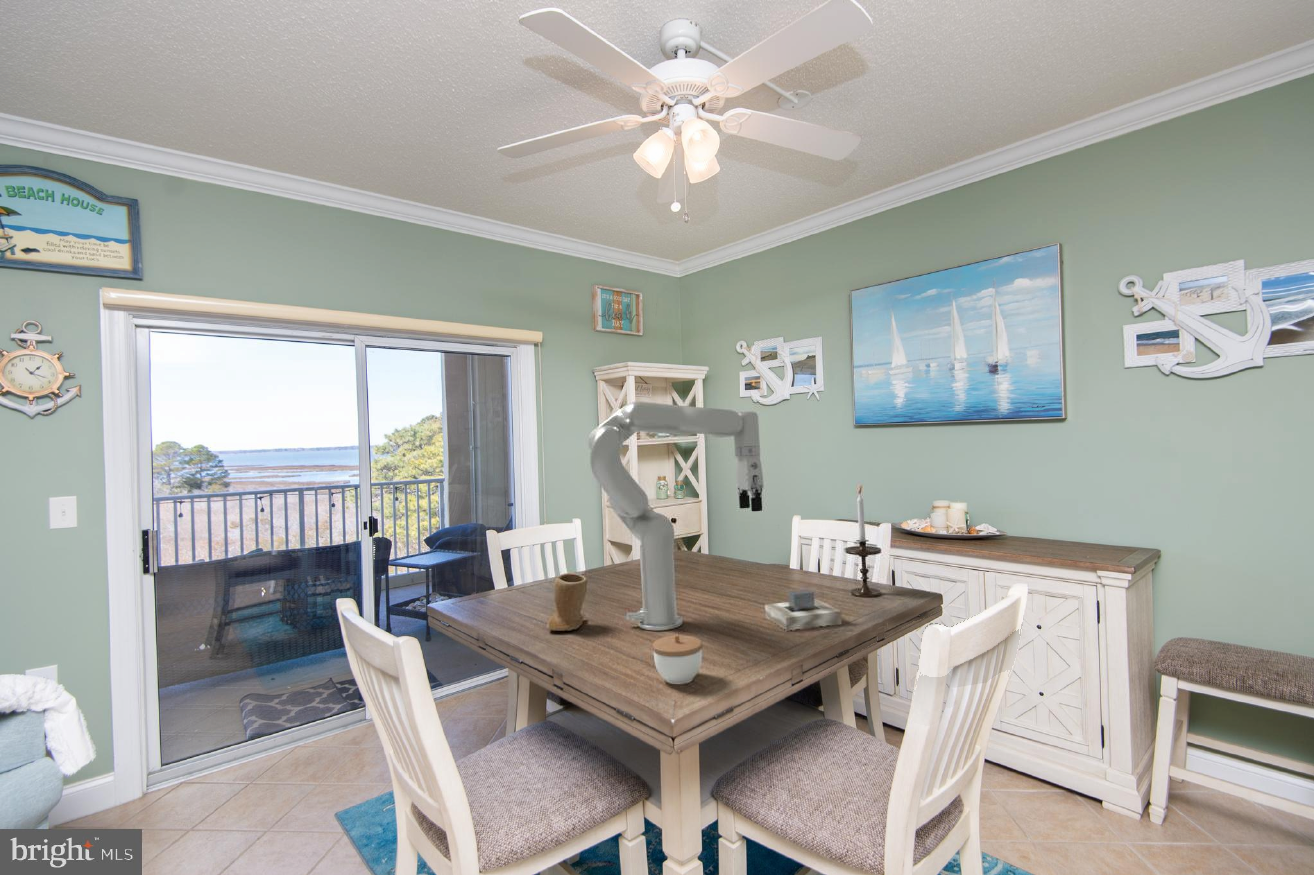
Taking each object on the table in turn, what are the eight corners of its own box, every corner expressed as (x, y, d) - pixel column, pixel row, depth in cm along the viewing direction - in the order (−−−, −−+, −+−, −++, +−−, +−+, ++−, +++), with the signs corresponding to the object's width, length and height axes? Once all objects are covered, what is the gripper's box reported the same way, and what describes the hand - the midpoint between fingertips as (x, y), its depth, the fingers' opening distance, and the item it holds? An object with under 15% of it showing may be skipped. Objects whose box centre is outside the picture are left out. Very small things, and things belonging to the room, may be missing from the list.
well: (786, 631, 156) (785, 617, 156) (765, 617, 169) (765, 604, 169) (841, 624, 159) (840, 611, 159) (816, 610, 173) (815, 598, 173)
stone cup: (585, 633, 163) (582, 579, 163) (543, 635, 164) (540, 581, 164) (594, 617, 178) (591, 568, 179) (555, 619, 179) (553, 569, 179)
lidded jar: (647, 686, 125) (644, 641, 125) (664, 667, 135) (662, 626, 135) (695, 691, 121) (692, 645, 121) (709, 671, 131) (707, 629, 131)
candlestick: (880, 589, 193) (873, 483, 194) (886, 598, 182) (880, 485, 183) (845, 589, 195) (839, 484, 196) (850, 598, 184) (843, 486, 185)
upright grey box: (795, 623, 162) (793, 594, 162) (789, 620, 165) (788, 591, 165) (815, 621, 163) (813, 592, 163) (809, 617, 167) (807, 589, 167)
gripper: (770, 451, 170) (774, 511, 169) (748, 452, 186) (751, 506, 186) (746, 453, 168) (749, 513, 168) (726, 453, 185) (729, 508, 184)
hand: (750, 509), depth 177 cm, fingers open, 9 cm apart
